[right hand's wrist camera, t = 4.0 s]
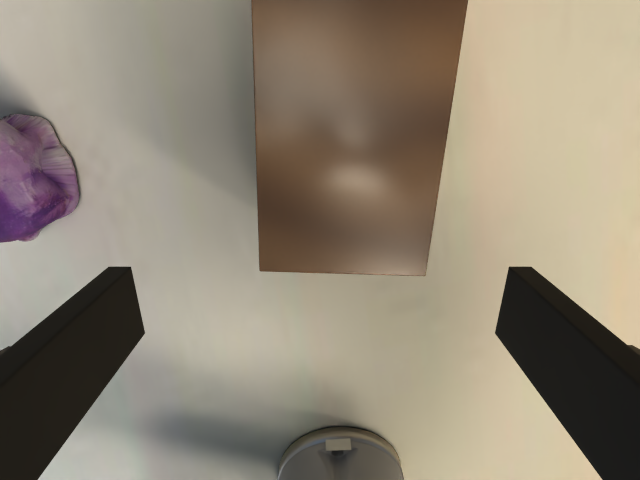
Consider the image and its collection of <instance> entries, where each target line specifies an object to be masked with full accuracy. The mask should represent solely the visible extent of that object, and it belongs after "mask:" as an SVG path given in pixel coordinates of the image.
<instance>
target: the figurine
mask: <svg viewBox="0 0 640 480" xmlns="http://www.w3.org/2000/svg"><path fill="white" fill-rule="evenodd" d="M78 201H79V191H78V184H77V177H76V172H75V168H74V165H73V162H72V158H71V157H70V156H69V154H68V153H67V152H66V150H65V149H64V148H63V146H62V145H61V144H60V142H59V140H58V139H57V137H56V134H55V132H54V129H53V127H52V126H51V124H50V123H49V122H48V121H47V120H46V119H43V118H42V117H38V116H34V117H33V116H29V115H28V116H27V115H23V114H21V115H20V114H14V115H11V114H10V115H9V116H5V117H4V118H3V119H2V120H1V119H0V242H11V241H15V240H19V241H24V242H26V241H31V240H34V239H35V238H36V237H37V236H38V235H39V233H40V230H41V229H42V228H43V227H45V226H46V225H48V224H50V223H52V222H53V221H55V220H57V219H59V218H62V217H64V216H66V215H68V214H70V213H72V212H73V211H74V209H75V208H76V206H77V204H78Z"/></svg>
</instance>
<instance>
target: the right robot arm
mask: <svg viewBox="0 0 640 480" xmlns="http://www.w3.org/2000/svg"><path fill="white" fill-rule="evenodd" d="M144 334H145V331H144V326H143V322H142V317H141V312H140V308H139V303H138V298H137V293H136V289H135V284H134V279H133V274H132V270H131V267H108V268H107V269H105V270H104V271H103V272H102V273H101V274H99V275H98V276H97V277H96V278H94V279H93V280H92V281H91V282H90V283H88V284H87V285H86V286H85V287H83V288H82V289H81V290H80V291H79V292H77V293H76V294H75V295H74V296H72V297H71V298H70V299H69V300H67V301H66V302H65V303H64V304H63V305H61V306H60V307H59V308H58V309H56V310H55V311H54V312H53V313H52V314H50V315H49V316H48V317H47V318H45V319H44V320H43V321H42V322H41V323H39V324H38V325H37V326H36V327H34V328H33V329H32V330H31V331H29V332H28V333H27V334H26V335H25V336H23V337H22V338H21V339H20V340H18V341H17V342H16V343H15V344H14V345H12V346H8V347H6V348H5V349H3V350H1V351H0V480H38V478H39V477H40V475H41V474H42V473H43V471H44V470H45V469H46V467H47V466H48V465H49V463H50V462H51V460H52V459H53V458H54V456H55V455H56V454H57V452H58V451H59V450H60V448H61V447H62V445H63V444H64V443H65V441H66V440H67V439H68V437H69V436H70V435H71V433H72V432H73V430H74V429H75V428H76V426H77V425H78V424H79V422H80V421H81V420H82V418H83V417H84V416H85V414H86V413H87V411H88V410H89V409H90V407H91V406H92V405H93V403H94V402H95V401H96V399H97V398H98V396H99V395H100V394H101V392H102V391H103V390H104V388H105V387H106V386H107V384H108V383H109V381H110V380H111V379H112V377H113V376H114V375H115V373H116V372H117V371H118V369H119V368H120V366H121V365H122V364H123V362H124V361H125V360H126V358H127V357H128V356H129V354H130V353H131V351H132V350H133V349H134V347H135V346H136V345H137V343H138V342H139V341H140V339H141V338H142V336H143V335H144ZM495 334H496V335H497V336H498V338H499V339H500V341H501V342H502V343H503V345H504V346H505V347H506V349H507V350H508V351H509V353H510V354H511V356H512V357H513V358H514V360H515V361H516V362H517V364H518V365H519V366H520V368H521V369H522V371H523V372H524V373H525V375H526V376H527V377H528V379H529V380H530V381H531V383H532V384H533V386H534V387H535V388H536V390H537V391H538V392H539V394H540V395H541V396H542V398H543V399H544V401H545V402H546V403H547V405H548V406H549V407H550V409H551V410H552V411H553V413H554V414H555V416H556V417H557V418H558V420H559V421H560V422H561V424H562V425H563V426H564V428H565V429H566V430H567V432H568V433H569V435H570V436H571V437H572V439H573V440H574V441H575V443H576V444H577V445H578V447H579V448H580V450H581V451H582V452H583V454H584V455H585V456H586V458H587V459H588V460H589V462H590V463H591V465H592V466H593V467H594V469H595V470H596V471H597V473H598V474H599V475H600V477H601V478H602V480H640V349H638V348H636V347H635V346H633V345H626V344H625V343H624V342H623V341H622V340H620V339H619V338H618V337H617V336H615V335H614V334H613V333H612V332H611V331H609V330H608V329H607V328H606V327H604V326H603V325H602V324H601V323H599V322H598V321H597V320H596V319H595V318H593V317H592V316H591V315H590V314H588V313H587V312H586V311H585V310H584V309H582V308H581V307H580V306H579V305H577V304H576V303H575V302H574V301H573V300H571V299H570V298H569V297H568V296H566V295H565V294H564V293H563V292H561V291H560V290H559V289H558V288H557V287H555V286H554V285H553V284H552V283H550V282H549V281H548V280H547V279H546V278H544V277H543V276H542V275H541V274H539V273H538V272H537V271H536V270H535V269H533V268H532V267H509V270H508V274H507V279H506V284H505V289H504V293H503V298H502V303H501V308H500V312H499V317H498V322H497V326H496V331H495ZM278 480H404V478H403V473H402V469H401V464H400V460H399V457H398V455H397V453H396V451H395V450H394V448H393V447H392V446H391V445H390V444H389V443H388V442H387V441H385V440H384V439H383V438H381V437H379V436H378V435H375V434H373V433H371V432H368V431H365V430H362V429H357V428H350V427H332V428H325V429H321V430H317V431H314V432H311V433H309V434H307V435H305V436H303V437H301V438H299V439H298V440H296V441H295V442H294V443H293V444H292V445H291V446H290V447H289V448H288V449H287V450H286V451H285V453H284V455H283V457H282V459H281V462H280V466H279V475H278Z"/></svg>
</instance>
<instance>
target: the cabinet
mask: <svg viewBox="0 0 640 480" xmlns="http://www.w3.org/2000/svg"><path fill="white" fill-rule="evenodd" d="M251 3H252V37H253V70H254V103H255V136H256V169H257V203H258V236H259V269H260V271H270V272H304V273H338V274H372V275H406V276H425V275H426V269H427V262H428V256H429V249H430V243H431V236H432V230H433V224H434V217H435V211H436V204H437V198H438V191H439V185H440V178H441V172H442V165H443V159H444V152H445V146H446V139H447V133H448V127H449V120H450V114H451V107H452V101H453V94H454V88H455V81H456V75H457V68H458V62H459V55H460V49H461V42H462V36H463V30H464V23H465V17H466V10H467V4H468V0H251Z"/></svg>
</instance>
